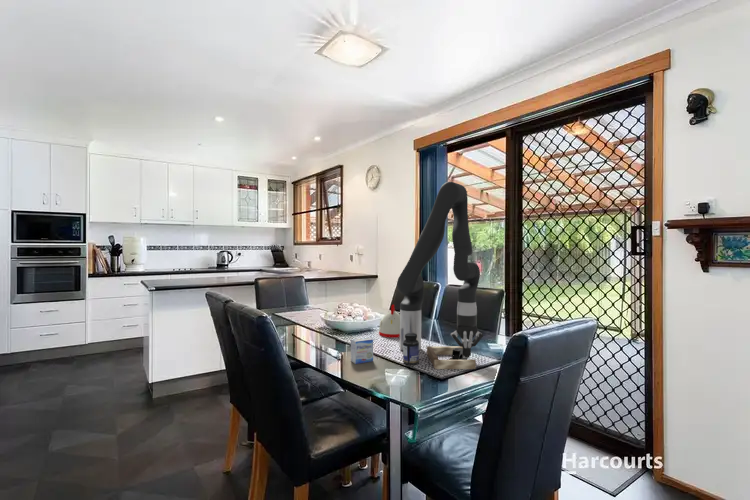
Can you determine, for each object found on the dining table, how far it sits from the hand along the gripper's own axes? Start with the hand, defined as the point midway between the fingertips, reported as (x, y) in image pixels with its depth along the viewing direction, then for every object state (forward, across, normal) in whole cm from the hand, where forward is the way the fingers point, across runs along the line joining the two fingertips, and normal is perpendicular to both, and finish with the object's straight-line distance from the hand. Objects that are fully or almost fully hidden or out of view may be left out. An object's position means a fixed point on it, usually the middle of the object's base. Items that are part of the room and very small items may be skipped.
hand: (466, 356), depth 149 cm
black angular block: (+2, +3, -2) cm, 4 cm away
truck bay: (+2, +7, 0) cm, 7 cm away
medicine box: (+2, +41, 0) cm, 41 cm away
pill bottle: (+2, +22, +2) cm, 22 cm away
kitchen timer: (+2, +26, -43) cm, 50 cm away
